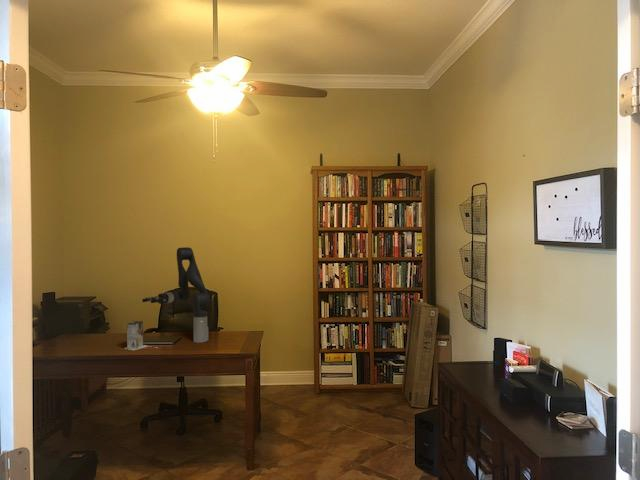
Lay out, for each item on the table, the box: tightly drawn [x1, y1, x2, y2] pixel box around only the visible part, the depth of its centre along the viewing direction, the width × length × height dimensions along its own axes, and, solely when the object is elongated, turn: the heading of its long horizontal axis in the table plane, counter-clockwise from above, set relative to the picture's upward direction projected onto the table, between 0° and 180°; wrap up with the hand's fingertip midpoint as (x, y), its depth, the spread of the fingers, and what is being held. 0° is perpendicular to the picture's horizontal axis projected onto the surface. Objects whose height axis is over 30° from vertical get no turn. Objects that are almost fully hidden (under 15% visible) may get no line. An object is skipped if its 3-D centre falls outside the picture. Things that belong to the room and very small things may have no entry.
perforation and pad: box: [124, 344, 158, 351], centre depth 297 cm, size 13×16×1 cm
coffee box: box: [126, 320, 144, 350], centre depth 298 cm, size 9×6×16 cm
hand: (146, 301), depth 314 cm, fingers open, 8 cm apart
